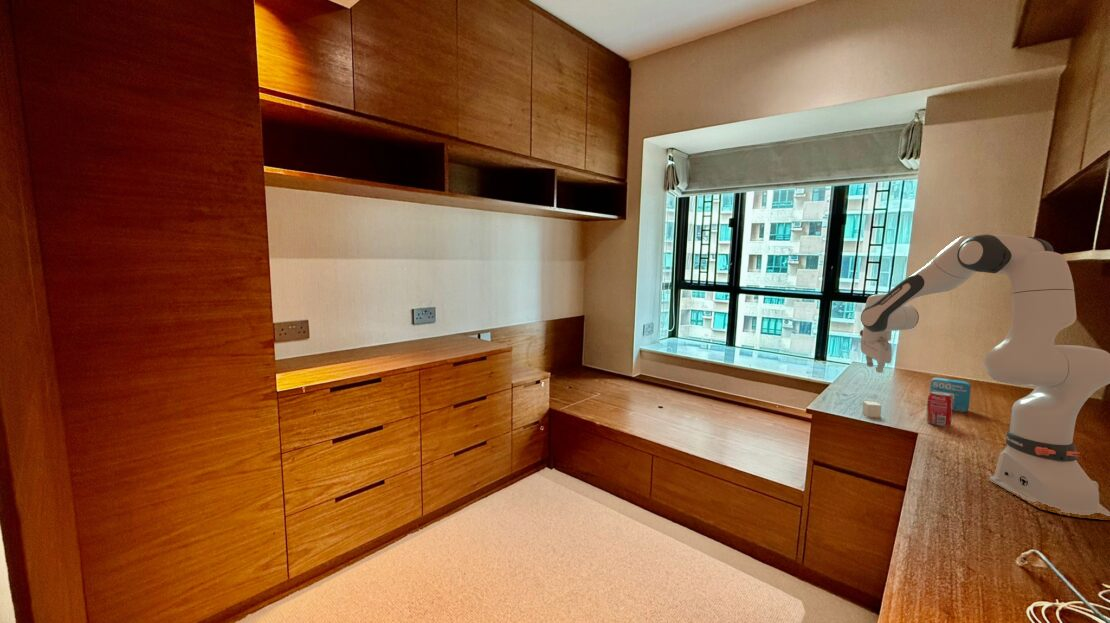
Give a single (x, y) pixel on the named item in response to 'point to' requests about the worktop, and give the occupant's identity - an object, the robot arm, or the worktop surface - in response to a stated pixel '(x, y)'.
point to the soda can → (939, 408)
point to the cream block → (871, 409)
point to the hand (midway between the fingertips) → (874, 369)
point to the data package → (954, 392)
